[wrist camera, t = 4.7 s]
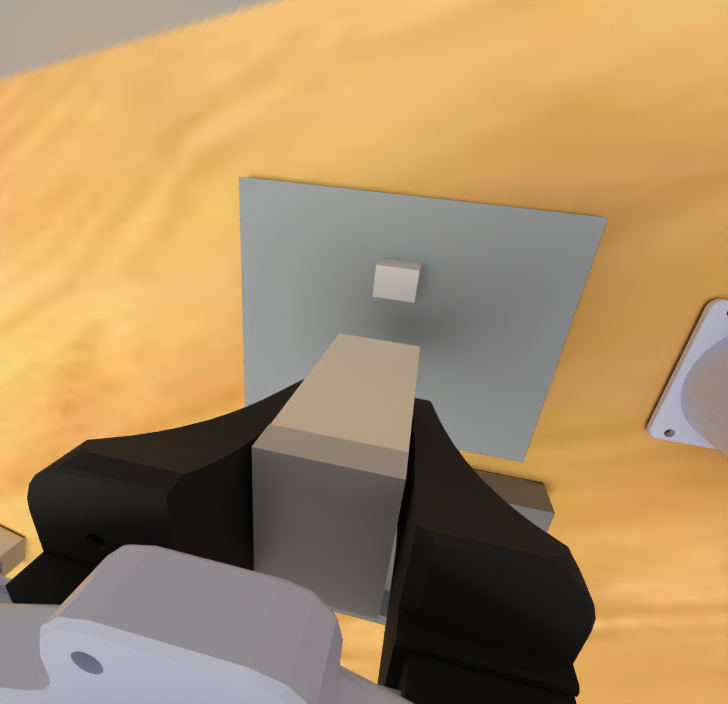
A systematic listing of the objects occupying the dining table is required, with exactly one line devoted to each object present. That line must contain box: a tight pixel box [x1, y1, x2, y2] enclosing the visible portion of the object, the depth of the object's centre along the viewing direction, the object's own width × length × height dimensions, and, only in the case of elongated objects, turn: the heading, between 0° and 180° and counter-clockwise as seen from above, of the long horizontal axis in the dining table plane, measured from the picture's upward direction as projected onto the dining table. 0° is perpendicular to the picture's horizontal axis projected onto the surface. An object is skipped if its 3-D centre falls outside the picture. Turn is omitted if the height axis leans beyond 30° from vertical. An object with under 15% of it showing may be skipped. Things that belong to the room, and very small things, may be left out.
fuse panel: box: [239, 177, 608, 462], centre depth 20 cm, size 18×14×4 cm
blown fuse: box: [252, 333, 420, 620], centre depth 11 cm, size 3×4×7 cm
